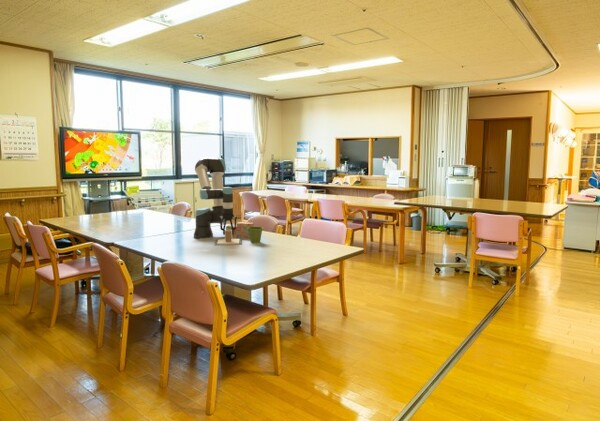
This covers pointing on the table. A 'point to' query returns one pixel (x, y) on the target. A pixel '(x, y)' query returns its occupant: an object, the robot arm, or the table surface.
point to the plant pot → (255, 234)
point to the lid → (228, 239)
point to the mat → (232, 244)
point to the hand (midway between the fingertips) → (228, 239)
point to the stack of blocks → (241, 229)
